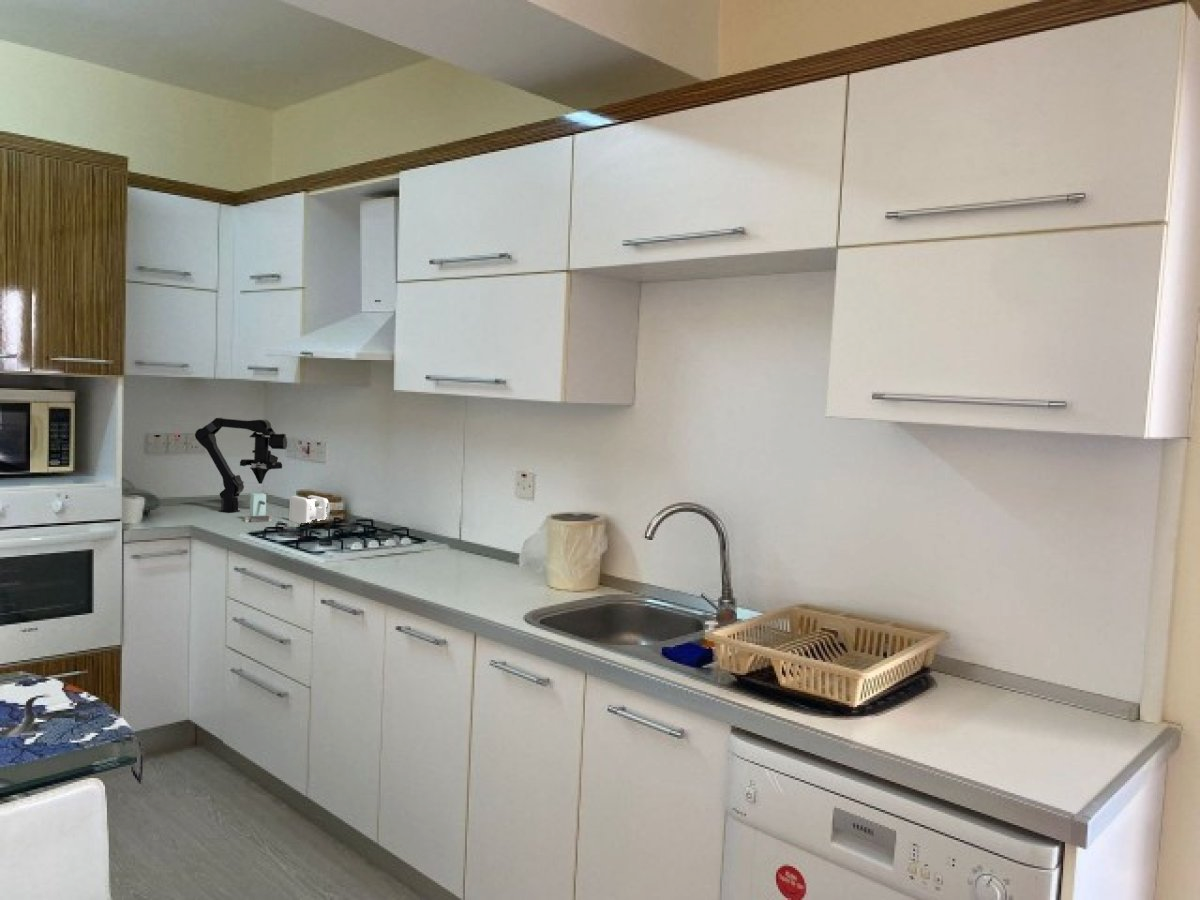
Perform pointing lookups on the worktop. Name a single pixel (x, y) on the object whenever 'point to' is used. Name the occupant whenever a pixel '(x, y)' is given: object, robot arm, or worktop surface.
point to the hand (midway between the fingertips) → (260, 483)
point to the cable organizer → (307, 509)
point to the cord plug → (257, 504)
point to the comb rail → (258, 518)
